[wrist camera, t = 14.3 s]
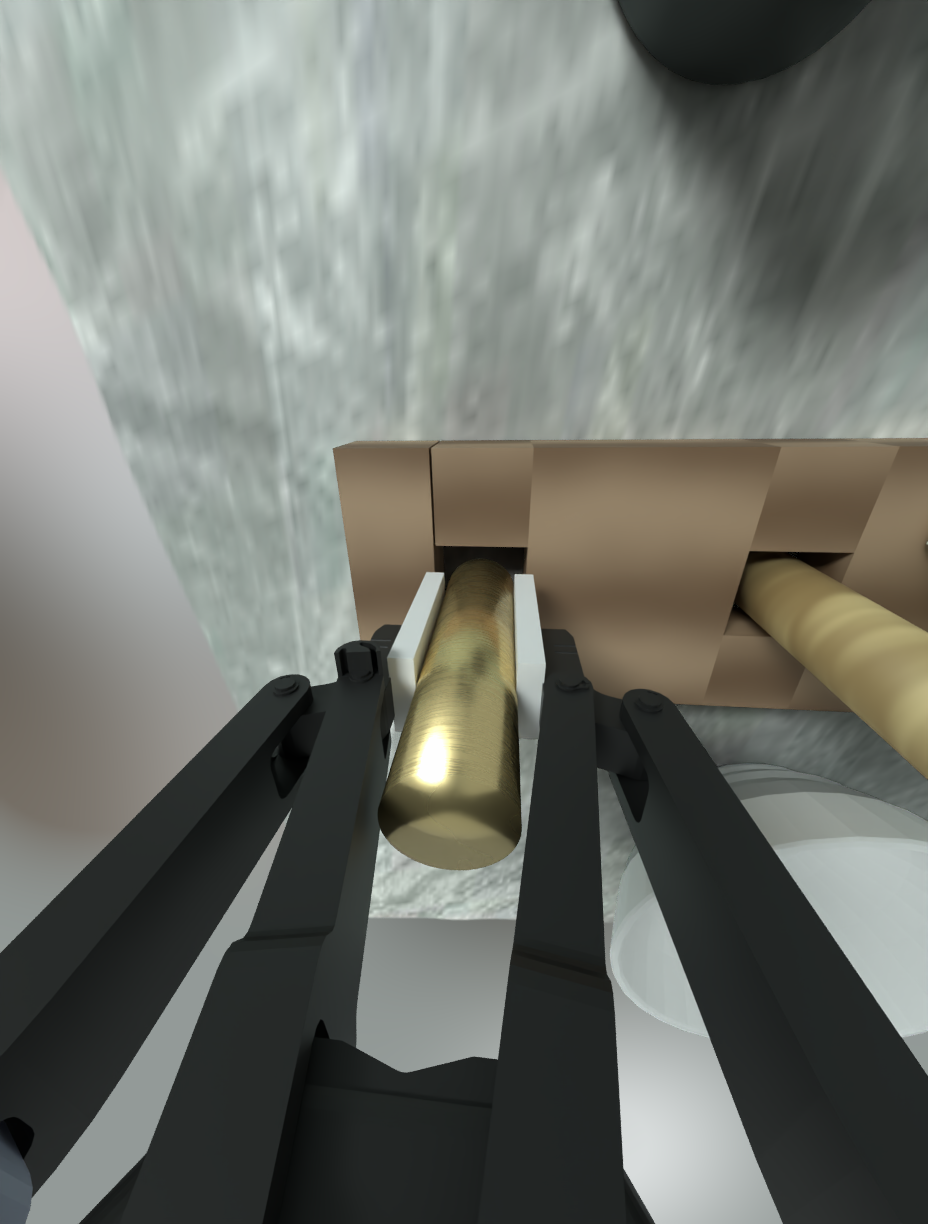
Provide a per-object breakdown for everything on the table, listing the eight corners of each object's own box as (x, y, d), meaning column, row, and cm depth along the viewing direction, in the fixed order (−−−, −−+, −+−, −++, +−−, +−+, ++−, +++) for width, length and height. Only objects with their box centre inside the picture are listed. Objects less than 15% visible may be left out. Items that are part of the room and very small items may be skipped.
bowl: (614, 914, 35) (642, 1052, 28) (555, 742, 27) (573, 871, 20) (890, 889, 30) (1012, 1046, 23) (917, 673, 23) (1114, 808, 15)
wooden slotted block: (356, 440, 20) (178, 496, 9) (1081, 437, 17) (2029, 508, 6) (382, 658, 25) (290, 850, 15) (934, 680, 23) (1315, 936, 12)
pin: (447, 557, 19) (369, 768, 8) (515, 559, 19) (525, 778, 8) (449, 617, 20) (384, 864, 10) (512, 619, 20) (518, 875, 9)
